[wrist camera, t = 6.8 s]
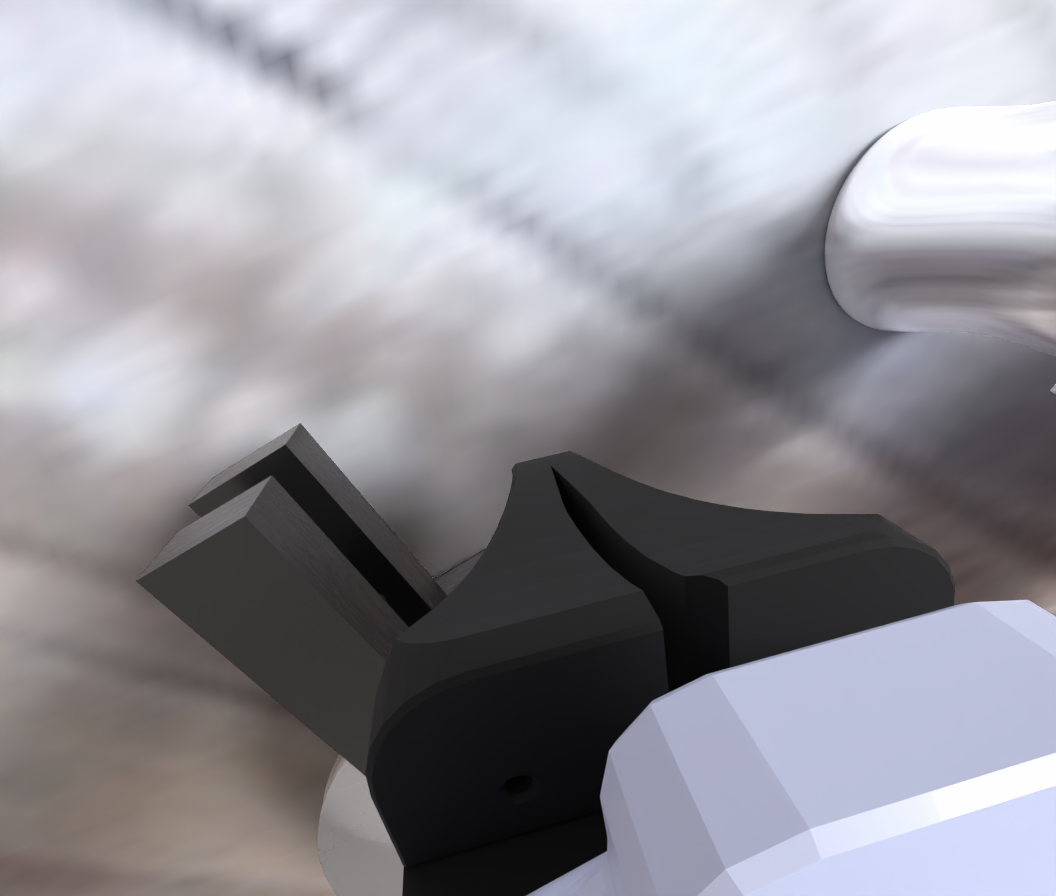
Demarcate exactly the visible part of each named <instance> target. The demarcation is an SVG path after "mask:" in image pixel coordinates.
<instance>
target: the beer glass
mask: <svg viewBox="0 0 1056 896" xmlns="http://www.w3.org/2000/svg"><path fill="white" fill-rule="evenodd" d="M825 268H826V274H827V279H828V282H829V285H830V288H831V291H832V293H833V295H834V297H835V299H836V301H837V302H838V304H839V305H840V306H841V308H842V309H843V310H844V311H845V312H846V313H847V314H848V315H849V316H851V317H852V318H853V319H855V320H856V321H858V322H860V323H862V324H863V325H866V326H868V327H871V328H874V329H879V330H885V331H897V332H930V331H949V332H966V333H973V334H980V335H987V336H991V337H995V338H999V339H1003V340H1007V341H1011V342H1015V343H1019V344H1022V345H1025V346H1027V347H1030V348H1033V349H1036V350H1039V351H1041V352H1044V353H1047V354H1050V355H1053V356H1056V101H1050V102H1044V103H1039V104H1030V105H1018V106H967V107H950V108H943V109H937V110H932V111H928V112H925V113H922V114H919V115H917V116H914V117H912V118H910V119H908V120H906V121H904V122H903V123H901V124H899V125H897V126H896V127H894V128H893V129H891V130H890V131H888V132H887V133H886V134H884V135H883V136H882V137H881V138H880V139H879V140H877V141H876V142H875V143H874V144H873V145H872V146H871V147H870V148H869V149H868V150H867V151H866V153H865V154H864V155H863V156H862V157H861V158H860V160H859V161H858V162H857V164H856V165H855V166H854V168H853V169H852V171H851V172H850V174H849V175H848V177H847V179H846V180H845V182H844V184H843V186H842V188H841V190H840V192H839V194H838V196H837V199H836V201H835V204H834V206H833V209H832V212H831V215H830V219H829V223H828V227H827V232H826V239H825Z"/></svg>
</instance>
